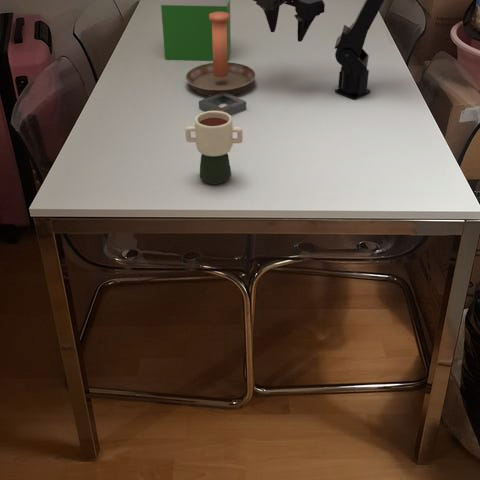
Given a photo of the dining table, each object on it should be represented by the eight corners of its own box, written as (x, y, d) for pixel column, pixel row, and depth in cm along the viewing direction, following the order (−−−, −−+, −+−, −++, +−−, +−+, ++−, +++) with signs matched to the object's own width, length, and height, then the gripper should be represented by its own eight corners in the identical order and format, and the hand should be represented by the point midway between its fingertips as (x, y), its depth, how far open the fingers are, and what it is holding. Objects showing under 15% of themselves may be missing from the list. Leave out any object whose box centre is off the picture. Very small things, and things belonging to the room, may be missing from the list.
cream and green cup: (243, 169, 131) (243, 110, 123) (241, 188, 125) (241, 127, 118) (190, 168, 132) (186, 109, 124) (186, 186, 126) (181, 126, 118)
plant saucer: (193, 103, 157) (192, 92, 155) (181, 76, 171) (180, 65, 169) (263, 96, 160) (263, 84, 158) (245, 69, 174) (245, 58, 172)
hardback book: (165, 59, 180) (158, -31, 166) (169, 50, 186) (163, -38, 172) (228, 61, 179) (226, -30, 164) (230, 51, 185) (229, -37, 170)
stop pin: (232, 76, 162) (231, 16, 154) (214, 79, 161) (212, 18, 152) (227, 69, 166) (225, 10, 157) (209, 72, 165) (206, 12, 156)
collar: (246, 109, 154) (246, 101, 153) (221, 119, 150) (220, 111, 148) (224, 99, 159) (224, 91, 157) (199, 108, 154) (198, 101, 153)
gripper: (235, -33, 149) (235, 34, 158) (293, -17, 137) (290, 55, 147) (269, -41, 155) (268, 24, 164) (328, -26, 143) (323, 43, 153)
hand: (286, 36), depth 157 cm, fingers open, 9 cm apart
